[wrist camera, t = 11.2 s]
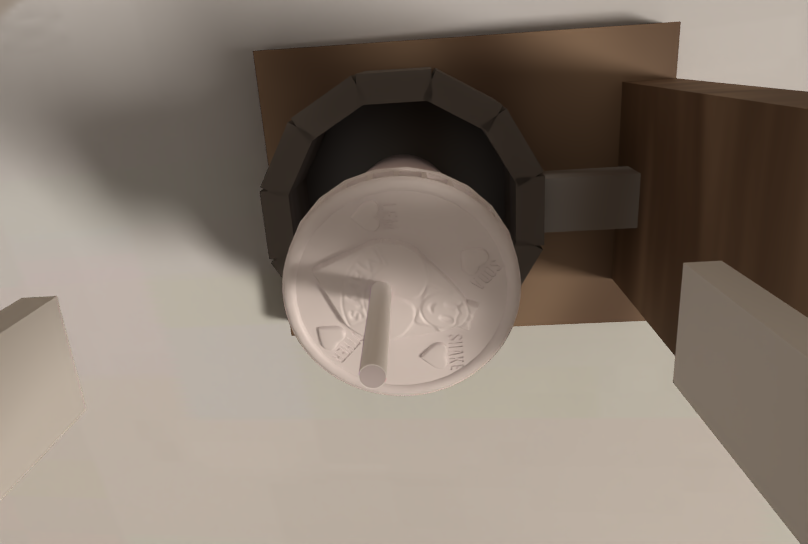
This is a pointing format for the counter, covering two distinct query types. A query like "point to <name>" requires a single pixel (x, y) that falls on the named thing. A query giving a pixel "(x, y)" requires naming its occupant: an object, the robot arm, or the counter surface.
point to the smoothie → (401, 280)
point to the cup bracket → (558, 158)
